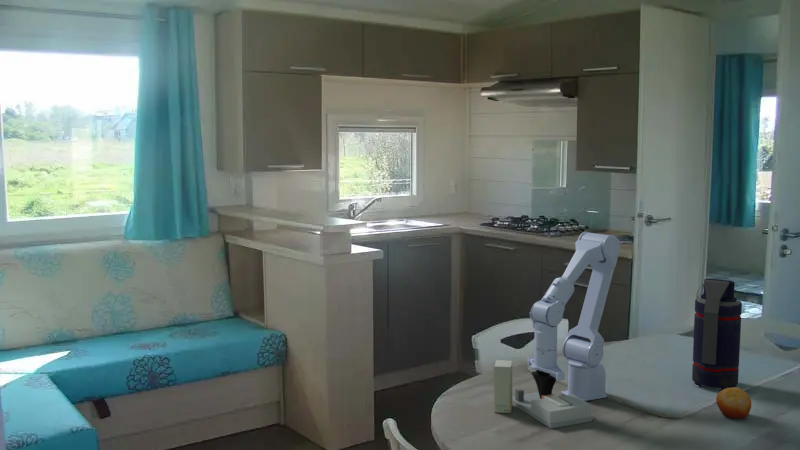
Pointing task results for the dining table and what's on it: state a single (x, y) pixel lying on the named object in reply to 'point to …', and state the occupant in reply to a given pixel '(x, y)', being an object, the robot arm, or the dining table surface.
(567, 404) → the button
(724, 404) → the fruit
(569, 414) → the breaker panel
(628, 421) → the dining table surface
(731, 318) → the grenade
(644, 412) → the dining table surface
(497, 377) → the skincare box
